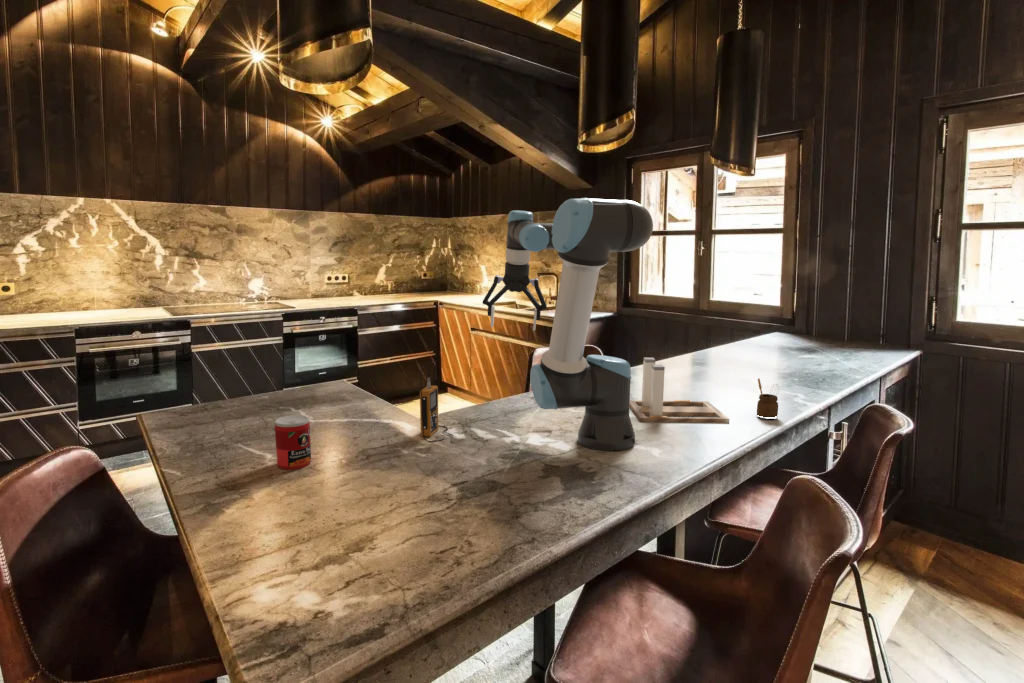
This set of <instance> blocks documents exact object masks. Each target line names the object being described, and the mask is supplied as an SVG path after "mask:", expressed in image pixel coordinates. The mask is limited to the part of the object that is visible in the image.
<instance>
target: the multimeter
mask: <svg viewBox="0 0 1024 683" xmlns="http://www.w3.org/2000/svg"><path fill="white" fill-rule="evenodd" d="M429 364H431V365H432V366H433V373H435V365H434V362H431V361H430V362H429V361H428V362H427V366H425V365H423V366H422V367H421V369H420V377H419V378H420V383H419V384H420V385H422V370H423V368H425V369H426V373H428V374H427V379H426V380H427V383H426V386H425V387H424V388H422V386H420V390H419V408H420V409H419V412H420V414H419V415H420V436H421V437H423V439H424V441H426V442H428V443H433V442H438V441H442V440H445V439H447V438H450V437H454V438H457V436H455V435H454V434H452V433H450V432H447V430H448V427H447V426H444V425H442V426H443V427H442V428H446V429H444V430H443V432H444V433H445V434H447V435H449V436H446V437H445V436H443V437H440V438H437V439H434V440H428V439H426V438H428V437H429V438H431V437H432V435H434V434H435V433H436V432H438V431H439V427H441V425H439V387H438V385H436V383H435V375H433V385H431V377H430V376H431V375H430V374H431V373H430V371H431V370H430V367H429ZM425 436H426V437H425Z"/></svg>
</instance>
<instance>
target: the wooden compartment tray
mask: <svg viewBox="0 0 1024 683" xmlns="http://www.w3.org/2000/svg"><path fill="white" fill-rule="evenodd" d="M629 409H630V410H631V411H632V412H633V414H634V415H635V416H636V418H637V419H638V421H639V422H640V423H702V424H703V423H704V424H705V423H709V424H711V423H717V424H722V423H723V424H728V425H730V418H729V417H727V415H726V414H724V413H723V412H722V411H720V409H718V408H717V407H716V406H714V405H713V404H712V403H710V401H705V400H704V401H703V400H702V401H697V400H696V401H693V400H687V399H683V400H682V399H681V400H679V399H677V400H676V399H674V400H663V414H662V416H650V406H642V400H630V405H629Z"/></svg>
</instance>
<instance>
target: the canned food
mask: <svg viewBox="0 0 1024 683" xmlns="http://www.w3.org/2000/svg"><path fill="white" fill-rule="evenodd" d="M310 425H311V424H310V418H309V417H308V416H306V415H299V414H293V415H292V414H291V415H286V416H281V417H278V418H277V419H275V420H274V436H275V437H274V438H275V451H276V452H275V453H276V463H277V466H278V467H279V468H280V469H283V470H288V471H289V470H298V469H302V468H306V467H308V466H309V465H310V464H311V460H312V448H311V428H310V427H311V426H310Z"/></svg>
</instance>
